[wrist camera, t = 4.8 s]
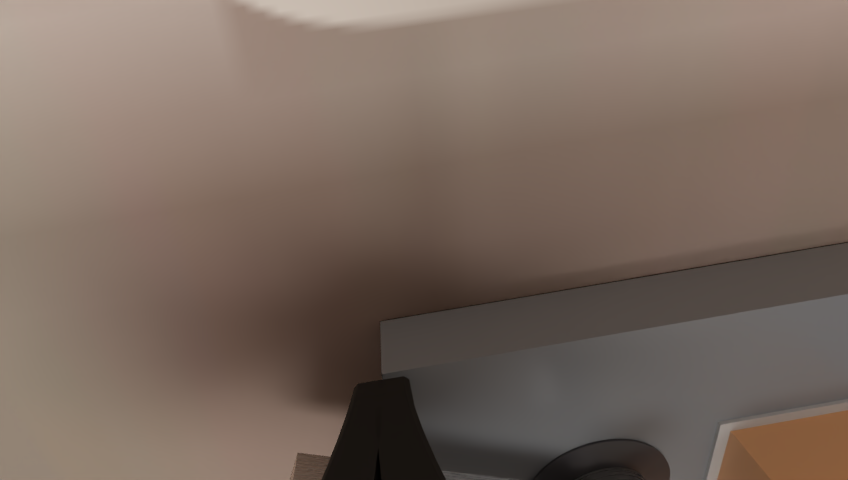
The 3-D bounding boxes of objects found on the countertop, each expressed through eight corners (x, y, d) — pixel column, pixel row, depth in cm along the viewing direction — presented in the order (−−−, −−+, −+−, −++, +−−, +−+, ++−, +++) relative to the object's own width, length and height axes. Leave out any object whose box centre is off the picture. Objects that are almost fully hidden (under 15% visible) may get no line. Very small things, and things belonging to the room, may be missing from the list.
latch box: (873, 238, 13) (957, 278, 11) (780, 480, 18) (827, 535, 16) (380, 321, 13) (381, 377, 11) (430, 544, 18) (436, 607, 16)
